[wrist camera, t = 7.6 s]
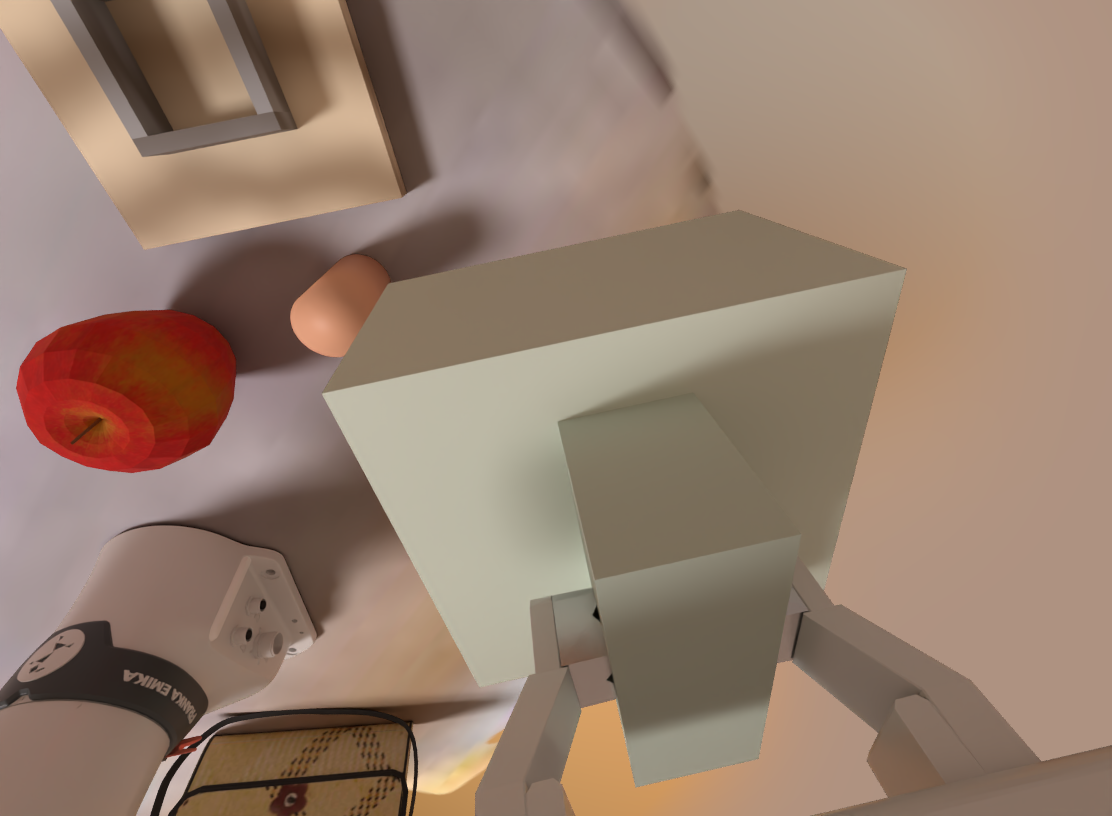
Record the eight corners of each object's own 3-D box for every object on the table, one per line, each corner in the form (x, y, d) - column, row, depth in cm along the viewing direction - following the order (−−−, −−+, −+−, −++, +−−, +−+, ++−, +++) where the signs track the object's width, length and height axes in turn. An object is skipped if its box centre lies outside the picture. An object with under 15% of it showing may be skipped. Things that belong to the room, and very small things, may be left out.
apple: (286, 391, 36) (208, 497, 26) (167, 407, 35) (40, 520, 25) (232, 275, 31) (109, 349, 21) (92, 290, 30) (-104, 374, 20)
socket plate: (406, 193, 30) (395, 203, 26) (163, 242, 29) (116, 260, 26) (288, -180, 21) (244, -247, 17) (-59, -116, 21) (-181, -170, 17)
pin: (399, 303, 33) (377, 349, 27) (345, 314, 33) (310, 363, 27) (378, 248, 31) (349, 283, 25) (321, 260, 31) (276, 298, 24)
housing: (726, 474, 21) (912, 749, 12) (481, 528, 21) (477, 850, 12) (739, 210, 15) (1162, 358, 6) (388, 283, 15) (218, 565, 5)
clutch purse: (425, 700, 63) (410, 844, 50) (425, 725, 66) (411, 865, 54) (182, 715, 57) (97, 882, 45) (197, 741, 61) (122, 902, 48)
